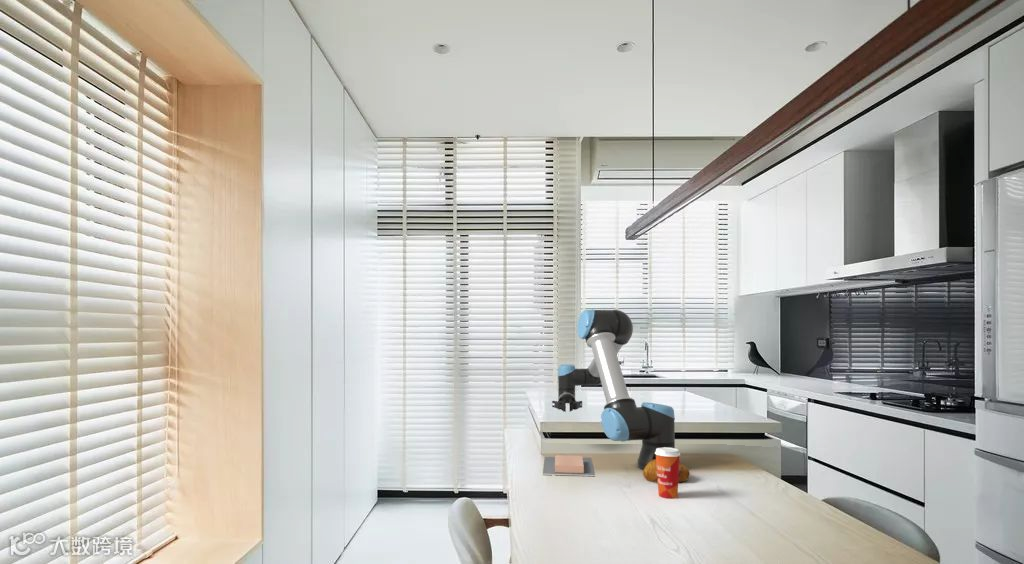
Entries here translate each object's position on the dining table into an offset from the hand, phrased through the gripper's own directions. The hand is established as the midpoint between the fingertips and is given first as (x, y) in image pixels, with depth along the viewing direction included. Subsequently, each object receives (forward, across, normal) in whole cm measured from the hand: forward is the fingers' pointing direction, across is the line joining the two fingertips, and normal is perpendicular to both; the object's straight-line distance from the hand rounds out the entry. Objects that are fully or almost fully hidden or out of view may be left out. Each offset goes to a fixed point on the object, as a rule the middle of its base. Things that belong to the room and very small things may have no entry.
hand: (567, 408), depth 231 cm
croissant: (+25, -33, -21) cm, 46 cm away
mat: (+12, 0, -20) cm, 23 cm away
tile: (+8, 0, -18) cm, 19 cm away
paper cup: (+46, -30, -21) cm, 59 cm away
